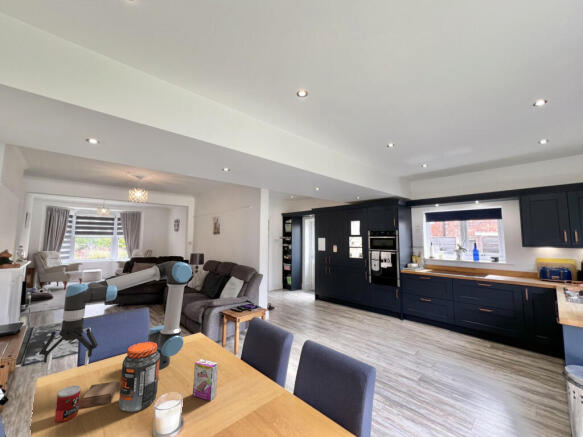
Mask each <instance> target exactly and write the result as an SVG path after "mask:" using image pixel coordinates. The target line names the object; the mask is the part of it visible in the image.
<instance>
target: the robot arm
mask: <svg viewBox="0 0 583 437" xmlns="http://www.w3.org/2000/svg"><path fill="white" fill-rule="evenodd" d="M192 274H193V270H192V267H191V266H190V264H189V263H186V262H184V261H183V262H182V261H176V260H171V261H166V262H162V263H159V264H155V265H153V266H152V267H151V268H150V267H149V268H146V269H142V270H139V271H136V272H131V273H126V274H124V275H120V276H116V277H112V278H108V279H104V280H101V281H92V282H89V283H72V284H69V285H68V286H67V287H66V291H65V295H64V296H65V298H64V305H63V313H62V314H63V315H62V321H61V330H58V329H55V330H53V331H52V332H51V334H50V338H48V340H47V341H46V343H45V344H44V345H43V347H42V348H41V349H40V351H39V352H38V353H39V355H40V356H42V355H44V358H43V363H45V372H49V371H50V369H51V367H52V360H53V352H52V351H53V350H55V349H56V348H57V347H58V346H59V345H60V344H61V343H62V342H63V341H75V340H77V341H79V343H81V344H82V345H83V347H85V348H86V351H85V356H84V358H85V359H84V367H86V366H88V364H89V362H90V361H89V360H90V358H91V357H92V355H93V350H94V349H97V347H98V345H99V344H98V341H97V340H96V338H95V336H94V333H93V332H92V327H90V326H88V327H87V328H84V320H85V318H84V317H85V313H86V312H85V311H86V305H87V304H88V305H89V304H95V303H102V302H109V301H114V300H115V299H116V298H117V296H118V291H122V290H125V289H128V288H131V287H135V286H139V285H141V284H144V283H148V282H152V281H160V280H166V285H167V287H168V293H167V298H166V306H165V314H164V319H163V320H164V321H163V325H162V324H161V325H157V326H156V325H155V326H153V327H151V328H150V329H149V330H148V334H147V342H154V343H156V344H157V351H158V352H159V355H160V361H159V371H160V370H162V369H164V368H167V367H168V366H169V365H170V364H171V357H174V356H176V355H177V354H178V353H179V352H180V351H181V349H183V347H184V339H183V337H182V328H180V322H181V313H182V306H183V300H184V291H185V286H187V285H188V281H189V280H190V279H191V277H192ZM83 333H85V334H86V336H87V338H88V339H87V338H85V336H84V335H83ZM58 335H59V336H60V338H59V339H58V340H57V341H56V342H55V343H54V344H53V345H52V346H51V347H50V348H49V346H50V345H51V344H52V343H53V341H54V339H55V338H56V337H57V336H58ZM48 348H49V349H48ZM47 349H48V350H47Z"/></svg>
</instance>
